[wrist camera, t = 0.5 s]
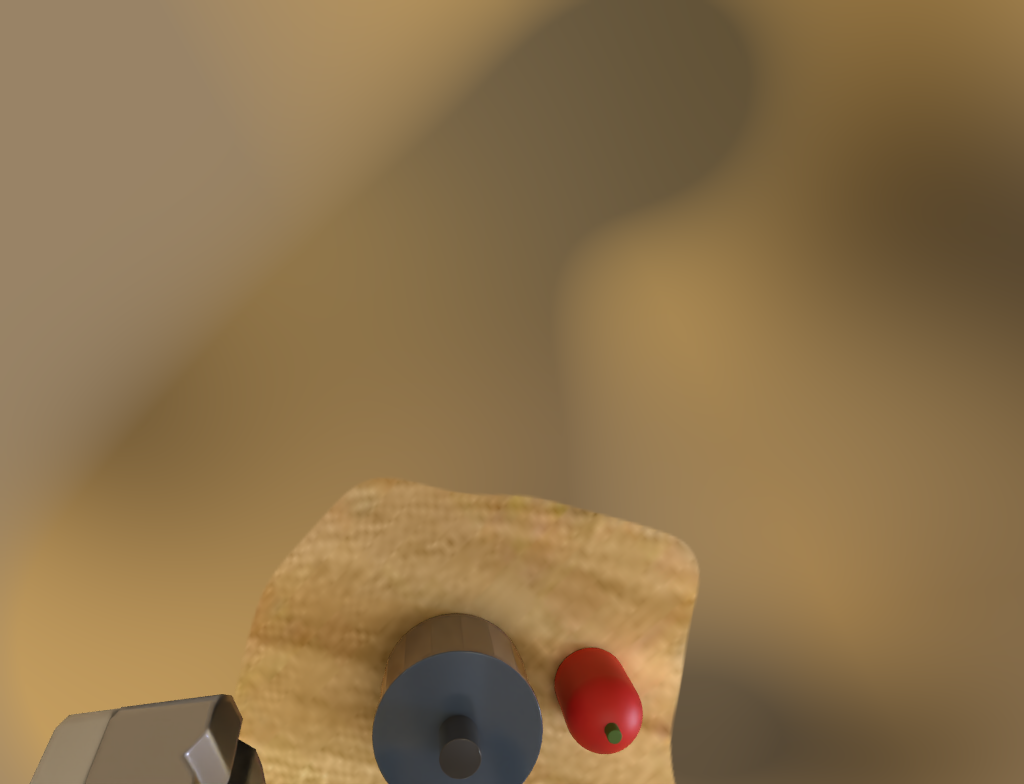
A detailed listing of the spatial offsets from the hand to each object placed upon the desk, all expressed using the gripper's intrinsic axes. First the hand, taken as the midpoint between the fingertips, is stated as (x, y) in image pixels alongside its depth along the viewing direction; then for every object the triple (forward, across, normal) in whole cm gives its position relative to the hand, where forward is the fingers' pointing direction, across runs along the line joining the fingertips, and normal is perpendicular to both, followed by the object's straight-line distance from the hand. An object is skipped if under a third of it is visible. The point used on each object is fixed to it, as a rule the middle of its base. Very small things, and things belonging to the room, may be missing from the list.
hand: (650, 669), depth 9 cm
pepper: (+36, +2, -41) cm, 55 cm away
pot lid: (+30, -7, -36) cm, 47 cm away
